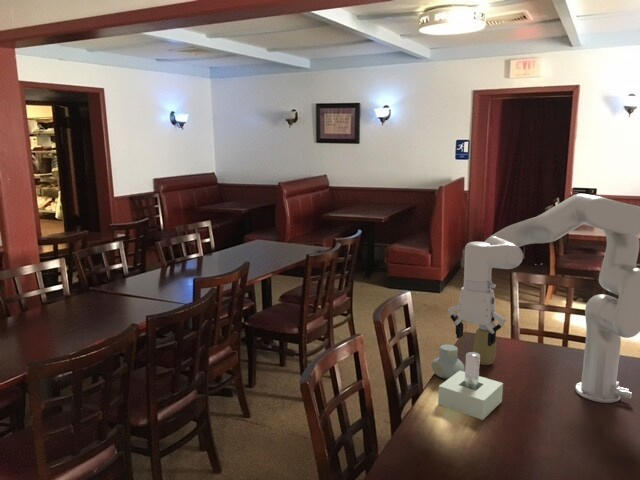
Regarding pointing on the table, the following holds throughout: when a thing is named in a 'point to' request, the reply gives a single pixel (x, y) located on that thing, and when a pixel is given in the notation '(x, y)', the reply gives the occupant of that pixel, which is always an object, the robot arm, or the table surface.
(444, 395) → the socket block
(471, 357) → the steel peg
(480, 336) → the squeeze bottle
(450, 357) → the air freshener
